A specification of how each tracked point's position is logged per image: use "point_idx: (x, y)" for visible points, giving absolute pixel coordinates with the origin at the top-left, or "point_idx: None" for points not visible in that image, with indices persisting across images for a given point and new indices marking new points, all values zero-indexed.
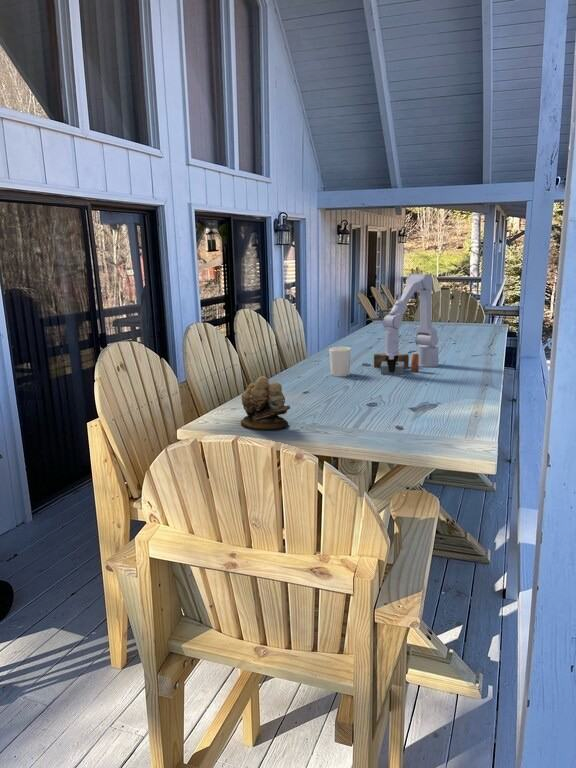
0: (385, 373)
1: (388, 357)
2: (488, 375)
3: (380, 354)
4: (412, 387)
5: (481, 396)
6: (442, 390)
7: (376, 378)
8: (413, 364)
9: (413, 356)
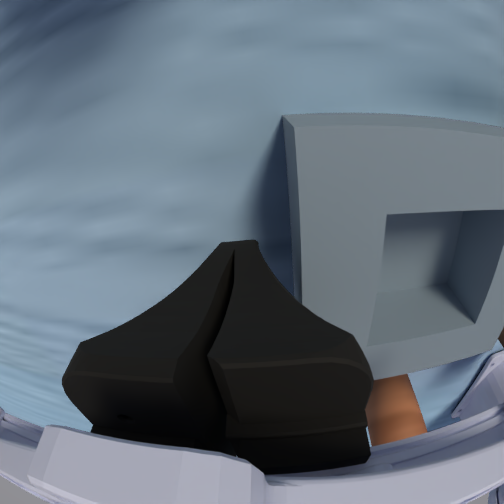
0: (287, 174)
1: (95, 415)
2: None
3: None
4: (16, 361)
5: None
6: (53, 422)
7: (65, 125)
8: (373, 421)
9: None
